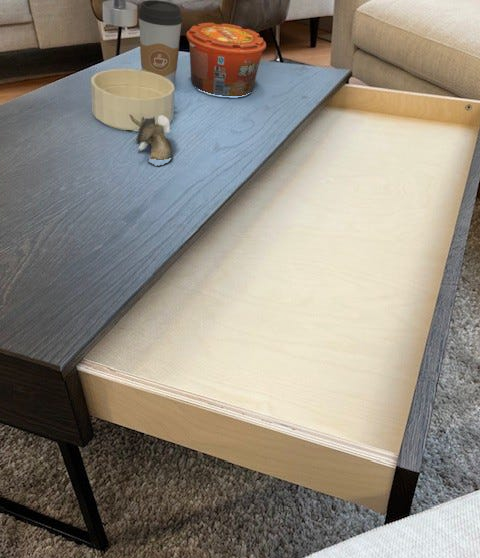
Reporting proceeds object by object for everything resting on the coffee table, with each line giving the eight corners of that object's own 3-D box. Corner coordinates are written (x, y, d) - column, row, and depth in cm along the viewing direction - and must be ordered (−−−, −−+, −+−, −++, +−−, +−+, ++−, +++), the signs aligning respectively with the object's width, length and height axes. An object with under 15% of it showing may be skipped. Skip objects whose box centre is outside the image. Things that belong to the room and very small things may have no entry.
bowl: (80, 123, 106) (78, 88, 102) (107, 95, 117) (107, 63, 114) (161, 139, 106) (162, 105, 102) (181, 109, 117) (182, 78, 113)
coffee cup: (137, 91, 121) (137, 9, 111) (137, 76, 127) (138, -3, 118) (180, 95, 123) (184, 14, 113) (178, 80, 129) (182, 2, 119)
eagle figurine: (116, 135, 102) (125, 150, 95) (138, 98, 101) (149, 110, 93) (155, 159, 106) (166, 175, 99) (177, 124, 105) (190, 137, 98)
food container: (275, 94, 131) (282, 41, 124) (221, 107, 121) (227, 51, 114) (222, 69, 138) (227, 18, 131) (167, 80, 128) (169, 25, 121)
